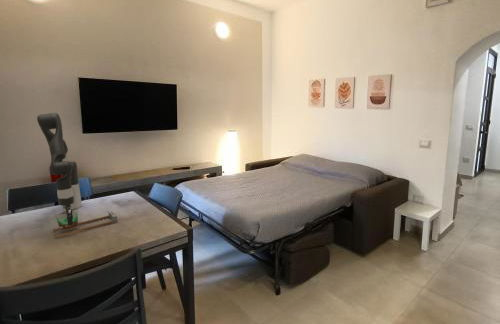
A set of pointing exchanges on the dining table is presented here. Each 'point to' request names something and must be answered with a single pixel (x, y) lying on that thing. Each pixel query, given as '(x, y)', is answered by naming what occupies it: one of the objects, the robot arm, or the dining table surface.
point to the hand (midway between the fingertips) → (69, 223)
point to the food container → (64, 222)
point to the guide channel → (111, 216)
